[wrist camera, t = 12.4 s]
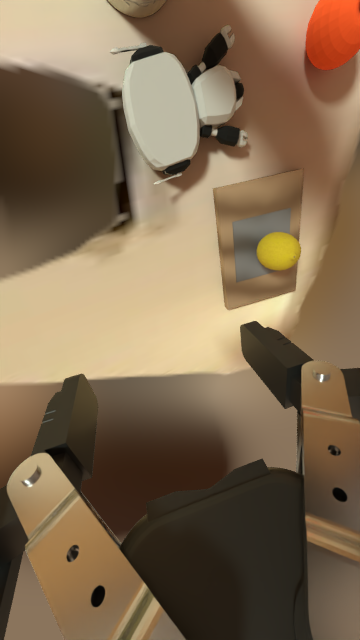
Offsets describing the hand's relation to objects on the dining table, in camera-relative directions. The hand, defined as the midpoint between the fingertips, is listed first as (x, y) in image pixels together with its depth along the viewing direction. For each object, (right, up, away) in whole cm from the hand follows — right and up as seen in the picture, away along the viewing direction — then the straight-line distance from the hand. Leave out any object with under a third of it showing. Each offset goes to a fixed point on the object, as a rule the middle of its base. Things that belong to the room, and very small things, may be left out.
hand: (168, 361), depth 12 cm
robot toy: (+1, +29, +18) cm, 34 cm away
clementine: (+18, +38, +18) cm, 46 cm away
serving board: (+14, +15, +29) cm, 35 cm away
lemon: (+14, +14, +27) cm, 34 cm away
